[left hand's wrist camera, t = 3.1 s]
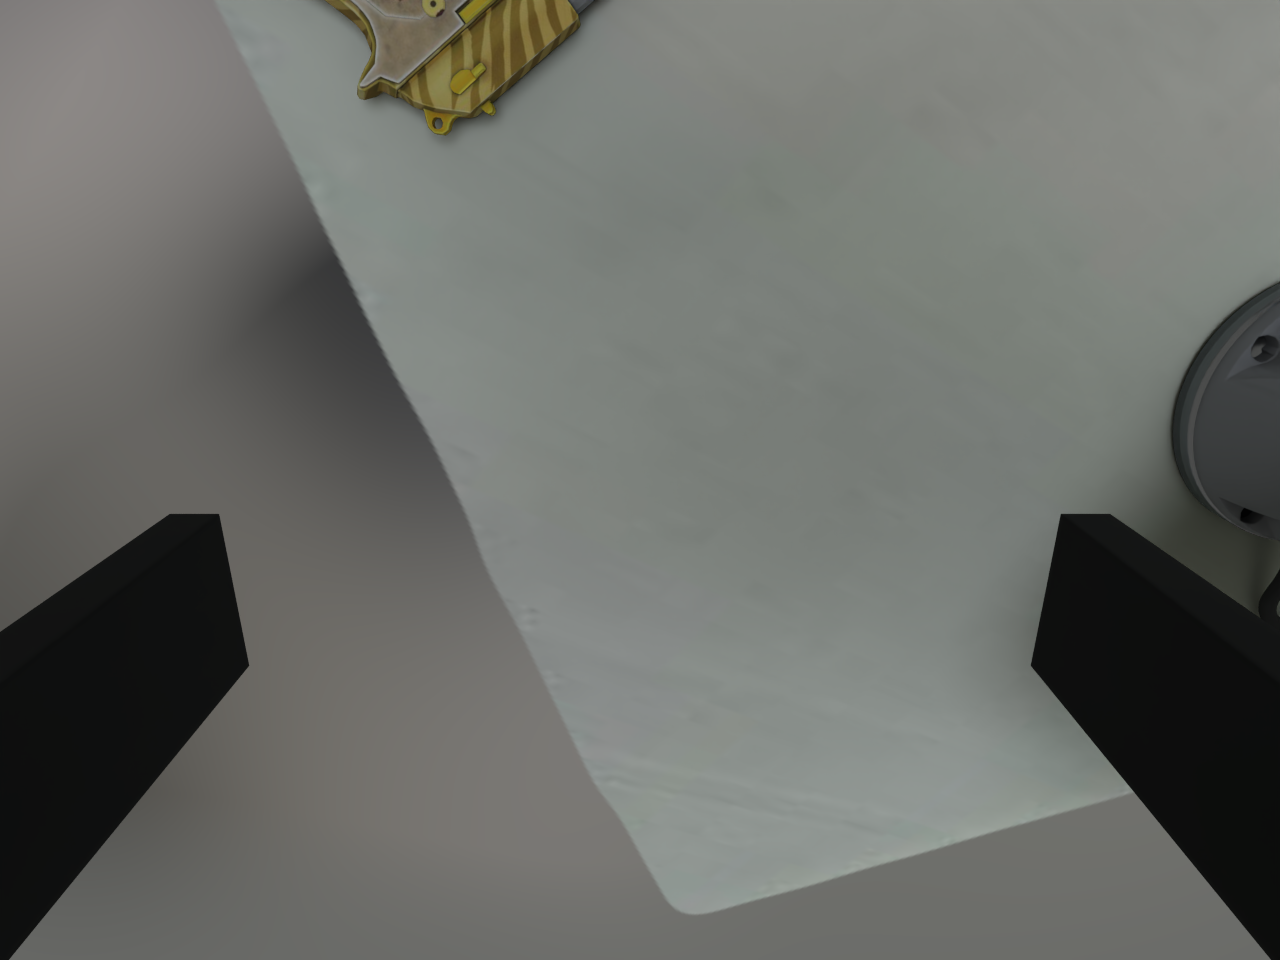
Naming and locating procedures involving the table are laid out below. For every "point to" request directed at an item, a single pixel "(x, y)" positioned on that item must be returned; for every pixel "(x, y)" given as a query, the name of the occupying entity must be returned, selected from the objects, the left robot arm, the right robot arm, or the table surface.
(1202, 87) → the table surface
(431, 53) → the handgun
